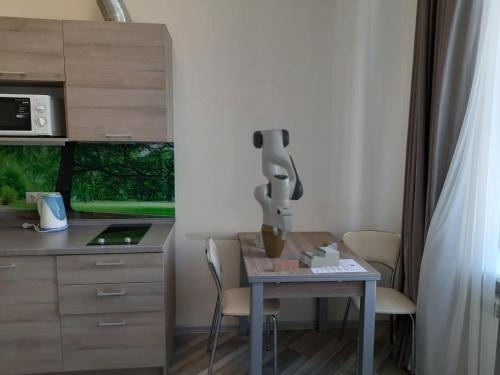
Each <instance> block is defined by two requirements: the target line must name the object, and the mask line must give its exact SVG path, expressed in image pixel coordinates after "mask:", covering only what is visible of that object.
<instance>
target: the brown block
mask: <svg viewBox="0 0 500 375" xmlns="http://www.w3.org/2000/svg"><path fill="white" fill-rule="evenodd" d="M272 266H273V272H274V273H276V272H277V273H278V272H287V271H296V270H300V260H299V259H292V260H291V259H288V260H280V261H278V260H277V261H274V262H273V265H272Z"/></svg>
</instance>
